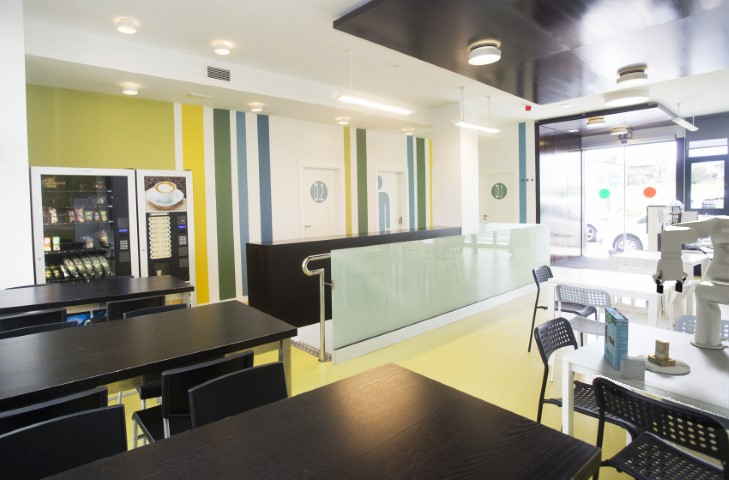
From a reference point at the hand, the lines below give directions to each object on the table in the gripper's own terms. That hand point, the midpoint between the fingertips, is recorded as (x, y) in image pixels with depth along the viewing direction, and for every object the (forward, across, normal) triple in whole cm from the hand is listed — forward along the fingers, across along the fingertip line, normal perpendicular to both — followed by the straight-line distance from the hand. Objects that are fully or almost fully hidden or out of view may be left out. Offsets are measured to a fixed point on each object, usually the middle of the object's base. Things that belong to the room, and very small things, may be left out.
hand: (669, 292), depth 190 cm
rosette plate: (+30, +11, +9) cm, 33 cm away
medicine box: (+30, +33, +18) cm, 48 cm away
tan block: (+29, +11, +9) cm, 32 cm away
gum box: (+30, +28, +2) cm, 41 cm away
